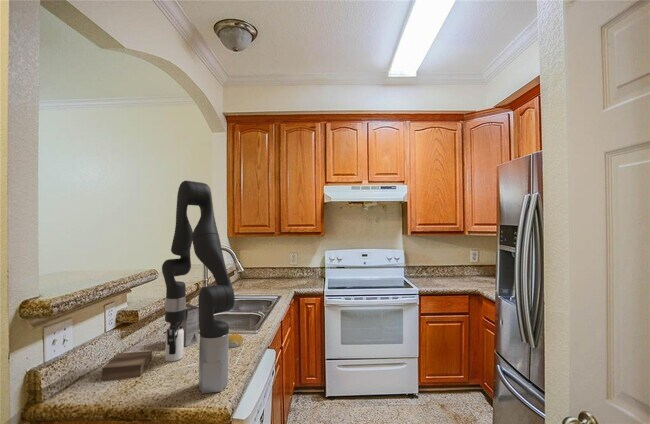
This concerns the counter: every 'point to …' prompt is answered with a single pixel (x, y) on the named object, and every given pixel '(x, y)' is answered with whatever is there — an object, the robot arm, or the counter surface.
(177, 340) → the can
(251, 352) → the counter surface
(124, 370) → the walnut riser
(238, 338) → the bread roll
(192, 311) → the coffee box
